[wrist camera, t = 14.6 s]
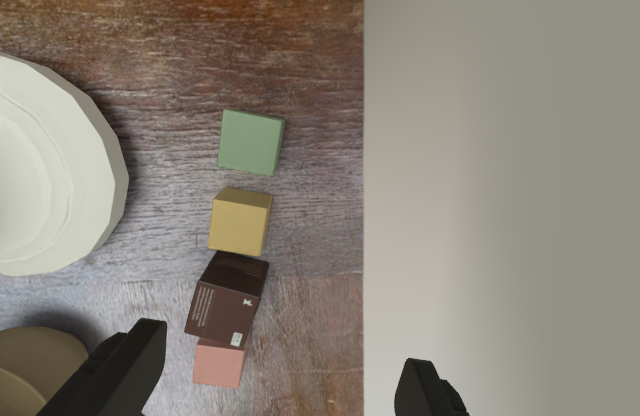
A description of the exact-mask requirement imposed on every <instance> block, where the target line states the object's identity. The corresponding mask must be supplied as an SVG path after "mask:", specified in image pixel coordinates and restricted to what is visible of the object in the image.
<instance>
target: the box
mask: <svg viewBox="0 0 640 416" xmlns="http://www.w3.org/2000/svg"><path fill="white" fill-rule="evenodd" d="M268 267H269V264H268V263H265V262H262V261H258V260H255V259H251V258H248V257H244V256H241V255H237V254H234V253H230V252H227V251H221V250H217V252H216V254H215V255H214V257H213V258H212V260H211V261H210V263H209V265H208V266H207V268H206V270H205V271H204V273H203V274H202V276H201V278H200V279H199V280H198V282H197V285H196V289H195V292H194V296H193V300H192V303H191V307H190V311H189V315H188V318H187V322H186V326H185V331H184V332H185V333H187V334H191V335H195V336H199V337H203V338H207V339H211V340H215V341H219V342H223V343H226V344H230V345H234V346H239V347H245V344H246V341H247V339H248V335H249V332H250V329H251V326H252V324H253V320H254V317H255V314H256V311H257V308H258V305H259V302H260V299H261V294H262V291H263V287H264V283H265V279H266V275H267V270H268Z"/></svg>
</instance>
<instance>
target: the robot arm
mask: <svg viewBox="0 0 640 416" xmlns="http://www.w3.org/2000/svg"><path fill="white" fill-rule="evenodd" d="M166 337H167V323H166V321H160V320H154V319H147V318H141V319H139V320H138V321H137V323H136V324H135V325H134V326H133V328H132V329H131V330H130V331H129V332H128V333H122V332H118V333H116V334H115V335H113V336H111V337H110V338H108V339H106V340H105V341H103V342H101V344H100V345H99V346H98V347H97V348H96V349H95V350H94V351H93V352H92V353H91V355H90V356H89V358H88V359H86V360H85V361H84V362H83V363H82V365H81V366H80V367H79V369H78V371H77V370H76V371H75V372H74V373H73V375H72V376H71V377H70V378H69V379H68V380H67V381H66V382H65V383H64V385H63V386H62V387H61V388H60V389H59V390H58V391H57V392H56V393H55V394H54V396H53V397H52V398H51V399H50V400H49V401H48V402H47V403H46V404H45V406H44V407H43V408H42V409H41V410H40V411H39V412H38V413H37V414H36V416H139V414H140V412H141V411H142V409H143V407H144V405H145V404H146V402H147V400H148V398H149V397H150V395H151V393H152V391H153V390H154V388H155V386H156V384H157V383H158V381H159V379H160V376H161V374H162V371H163V368H164V363H165V354H166ZM394 408H395V414H396V416H469V413H468V412H466V407H465V406H464V403H463V401H462V399H461V397H460V395H459V394H458V392H456V390H455V389H454V388H453V387H452V386H451V385H450V384H449V382H447V380H442V379H440V378H439V376H438V374H437V371H436V369H435V367H434V365H433V363H432V362H431V361H427V360H420V359H413V358H408V359H407V360H406V362H405V365H404V368H403V371H402V374H401V377H400V380H399V383H398V387H397V390H396V393H395V400H394Z"/></svg>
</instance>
